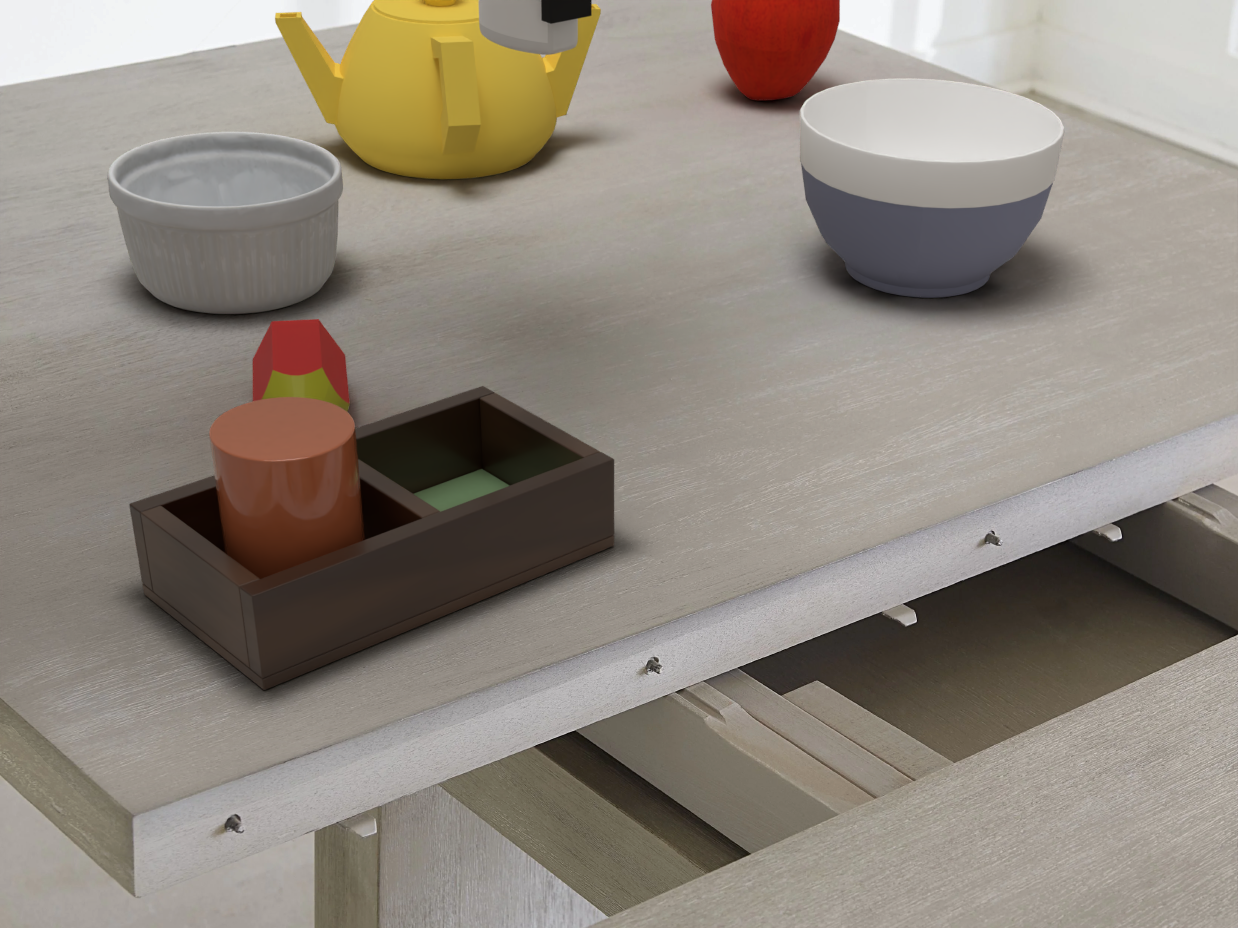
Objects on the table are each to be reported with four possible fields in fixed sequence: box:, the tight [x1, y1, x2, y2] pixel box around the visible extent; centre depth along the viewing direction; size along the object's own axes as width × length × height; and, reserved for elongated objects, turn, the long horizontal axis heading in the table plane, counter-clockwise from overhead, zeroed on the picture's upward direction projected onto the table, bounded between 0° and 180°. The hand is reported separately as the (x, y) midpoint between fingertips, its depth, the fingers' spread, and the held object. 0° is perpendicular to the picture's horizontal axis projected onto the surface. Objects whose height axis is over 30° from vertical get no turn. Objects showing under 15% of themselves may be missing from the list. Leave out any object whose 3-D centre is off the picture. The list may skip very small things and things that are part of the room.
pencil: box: [252, 318, 351, 413], centre depth 96 cm, size 5×12×4 cm, turn 12°
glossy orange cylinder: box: [208, 397, 365, 579], centre depth 82 cm, size 6×6×8 cm
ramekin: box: [107, 131, 344, 315], centre depth 112 cm, size 13×13×7 cm
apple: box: [710, 0, 841, 102], centre depth 144 cm, size 10×10×12 cm
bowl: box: [799, 77, 1065, 299], centre depth 117 cm, size 16×16×10 cm
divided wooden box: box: [128, 385, 615, 691], centre depth 86 cm, size 10×19×5 cm, turn 133°
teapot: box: [274, 0, 602, 180], centre depth 132 cm, size 17×17×12 cm
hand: (527, 2), depth 100 cm, fingers closed on eye dropper bottle, 6 cm apart
